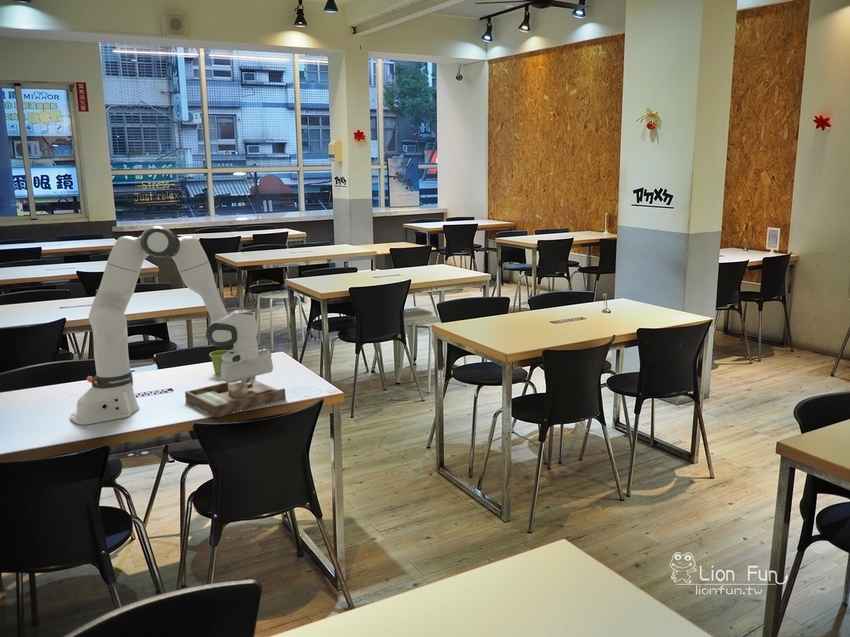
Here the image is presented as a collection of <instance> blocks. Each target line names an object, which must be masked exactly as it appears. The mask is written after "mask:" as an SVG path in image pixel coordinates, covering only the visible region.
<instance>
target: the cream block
mask: <svg viewBox="0 0 850 637" xmlns="http://www.w3.org/2000/svg"><path fill="white" fill-rule="evenodd" d="M228 392H229V394H230V395H232V396H235V397H236V396H240V395H244V394H247V383H245V382H242V381H236V382H232V383H228Z"/></svg>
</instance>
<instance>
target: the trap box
mask: <svg viewBox="0 0 850 637" xmlns="http://www.w3.org/2000/svg"><path fill="white" fill-rule="evenodd" d="M250 379H251V378H247V381H246V383H249V382H250ZM236 381H241V379H240V380H236ZM236 381H231V382H225V381H224V382H221V383H216V384H212V385H209V386H204V387H198V388H195V389H191V390H187V391H184V394H185V402H186V403H187V404H189V405H191V404H192V405H191V406H193V405H194V406H193V407H195V406H196V407H198V408H200V409H202V410H204V411H206V412H208V413H209V414H208V413H207V414H208V415H210V414H211V415H210V416H212V415H213V416H212V417H213V418H220V417H223V416H228V415H231V414H230V413H232V414H234V413H233V412H236V413H238V412H237V411H240V410H243V411H245V410H244V409H247V410H249V409H248V408H251V409H253V408H252V407H255V408H257V407H256V406H258V407H261V406H260V405H262V406H264V405H263V404H266V405H268V404H267V403H270V404H272V403H271V402H273V403H276V401H277V402H280V400H281V401H283V400H284V399H285V400H286V388H280V389H277V388H274V387H271V386H269V385H267V384H264V383H262V382H259V381H257V380H255V381H254V383H253V388H250V389H247V394H244V395H240V396H236V397H235V396H232V395H230V394H229V392H228V383H232V382H236ZM196 407H195V408H196ZM198 408H197V409H198ZM200 409H199V410H200ZM202 410H201V411H202ZM204 411H203V412H204ZM206 412H205V413H206ZM240 412H241V411H240ZM227 414H228V415H227Z"/></svg>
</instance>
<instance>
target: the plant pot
mask: <svg viewBox="0 0 850 637" xmlns="http://www.w3.org/2000/svg"><path fill="white" fill-rule="evenodd" d="M230 350H231V349H228V350H227V349H220V350H214V351H212V352H210V353H209V357H210V359H211V361H212V366H213V371H214V374H216V375H221V364H222V362H223V361H224V360H222V355H223V354H224V353H226V352H228V351H230Z"/></svg>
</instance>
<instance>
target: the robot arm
mask: <svg viewBox="0 0 850 637" xmlns="http://www.w3.org/2000/svg"><path fill="white" fill-rule="evenodd" d="M148 256H151V257H154V258H171V259H173V262H174V263H175V266H176V267H177V271H178V272H179V275H180V277H181V279H182V281H183V283H184V285H185V286H186V287H187V289H189V290H191V291H193V292H194V293H197V294H198V295H199V297H200V298H201V299H202V301H203V304H204V306H205V307H206V310H207V311H208V312H207V313H208V314H209V316H210V324H209V325H208V327H207V328H206V330H205V339H206V340H207V342H208V343H209V344H210V345H212V346H214V347H217V348H220V347H226V346H230V345H233V348H231V349H229V350H230V351H228V352H226V353H224V354H223V355H222V360H224V361H223V362H222V364H221V374H220V379H221V380H222V381H223V382H224V383H225V382H231V381H236V380H240V379H241V381H242V382H245V383H246V381H247V378H251V379H250V382H249V383H247V389H250V388H253V383H254V381H256V376H261V375H264V374H269V373H272V372H273V370H274V365H273V359H272V352H271V351H272V350H270V349H268V348H264V349H259V344H258V343H259V342H258V340H257V335H258V328H257V320H256V316H255V314H254V313H253V312H252V311H250V310H247V309H235V310H233V311H232V312H231V313H230V312H229V311H228V310H227V308H226V306H225V304H224V301H223V299H222V297H221V295H220V292H219V291H218V287H217V284H216V281H215V276H214V272H213V270H212V266H211V264H210V261H209V258H208V256H207V254H206V252H205V250H204V248H203V246H202V244H201V242H200V241H199V240H198V239H197V238H196V237H194V236H191V235H185V236H181V237H177V236H176V235H175V234H174V233H173V232H172V231H171V230H170V229H169V228H168V227H166V226H164V225H161V224H153V225H151V226H149V227H147V228H146V229H145V230H144V231H143V232H142V233H141V234H140V235H139V236H138V237H136V236H131V235H124V236H123V235H122V236H120V237H118V238H117V239H116V241H115V243H114V245H113V247H112V249H111V251H110V253H109V256H108V259H107V260H106V261H107V262H106V265H105V268H104V272H103V275H102V278H101V281H100V285H99V287H98V289H97V291H96V293H95V296H94V299H93V302H92V305H91V307H90V310H89V313H88V320H89V324H90V327H91V329H92V338H93V355H94V356H93V357H94V364H95V365H94V366H95V371H96V374H95V375H94V377H93V376H92V375H91V376H90V375H88V376H87V377H86V381H87V382H88V383H90V384H91V387H90V388H89V389H88V390H87V391H86V392H84V393H83V394H82V395H80V397H79V398H78V400H77V402H76V411H74V412H72V413H71V414H70V418H69V419H70V420H71V422H73V423H75V424H78V425H81V426H84V425H85V426H86V425H87V426H88V425H92V424H98V423H103V422H109V421H113V420H119V419H125V418H129V417H131V416H132V415H131V414H134V413H136V412H137V411H139V410H140V406H139V404H138V401H137V398H136V396H135V392H134V387H133V386H134V383H133V382H134V378H133V373H132V370H131V368H130V367H131V366H130V358H129V346H128V344H129V340H128V339H129V336H128V334H129V333H128V322H127V318H126V316H125V313H126V309H127V308H128V305H129V303H130V301H131V298H132V296H133V295H134V293H135V289H136V286H137V282H138V279H139V276H140V273H141V270H142V269H141V268H142V267H143V263H144V261H145V259H147V257H148Z"/></svg>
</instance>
